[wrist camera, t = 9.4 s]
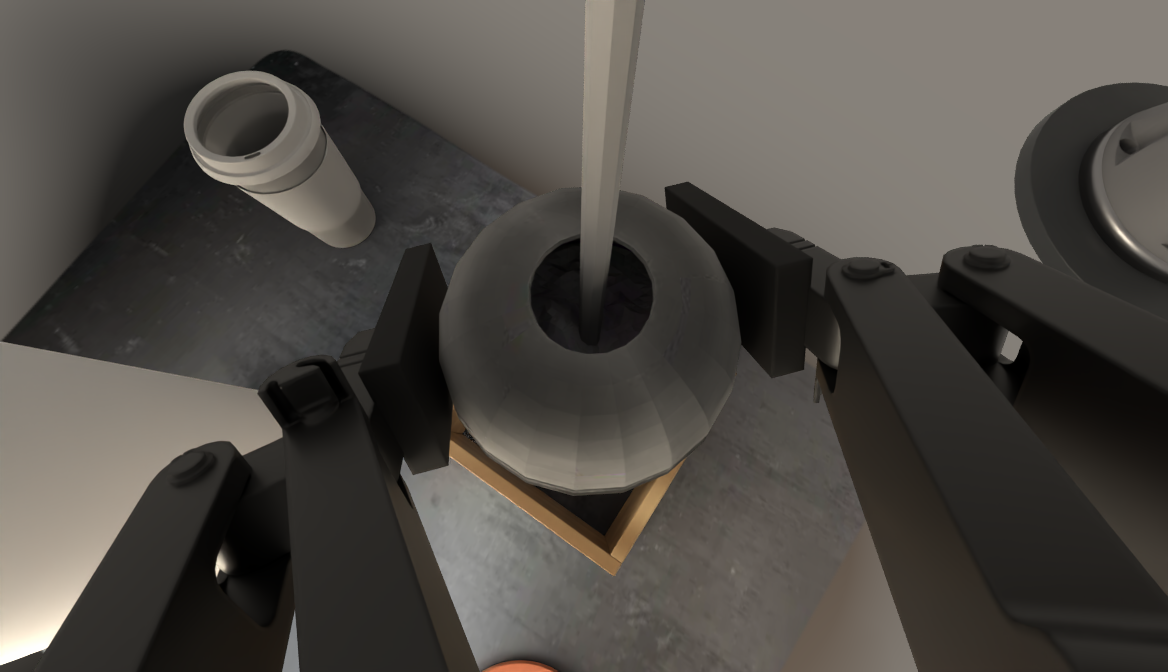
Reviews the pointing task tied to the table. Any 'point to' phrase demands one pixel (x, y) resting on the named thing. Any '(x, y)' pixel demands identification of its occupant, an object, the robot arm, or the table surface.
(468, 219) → the table surface
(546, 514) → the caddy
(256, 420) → the tall pillar cylinder
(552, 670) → the coaster
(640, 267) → the beverage cup
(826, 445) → the table surface
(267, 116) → the cup
